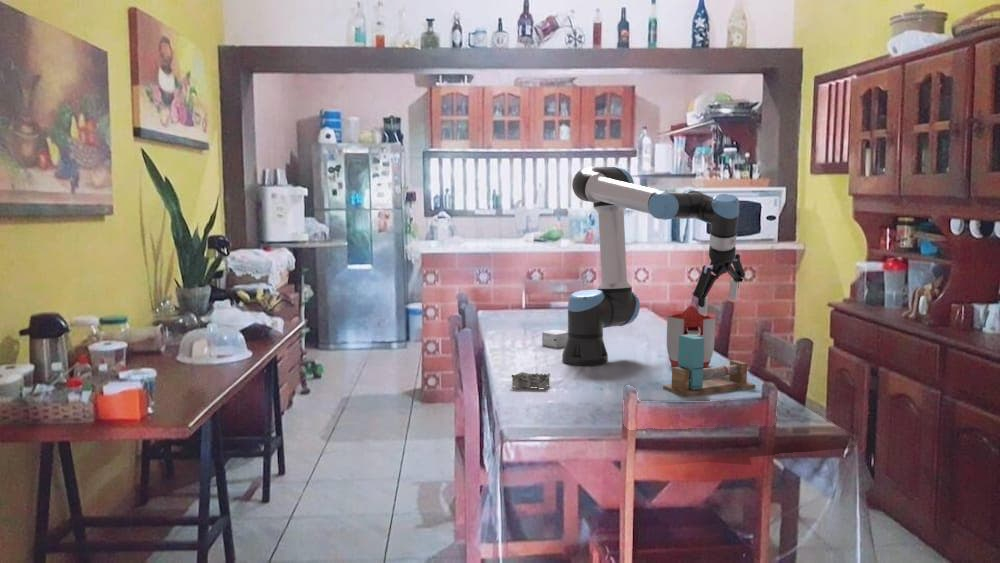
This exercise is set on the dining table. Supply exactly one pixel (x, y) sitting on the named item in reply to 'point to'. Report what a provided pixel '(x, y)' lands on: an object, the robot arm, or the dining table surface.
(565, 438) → the dining table surface
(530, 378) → the egg carton
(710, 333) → the citrus juicer
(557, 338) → the small box
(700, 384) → the collar
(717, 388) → the rail
